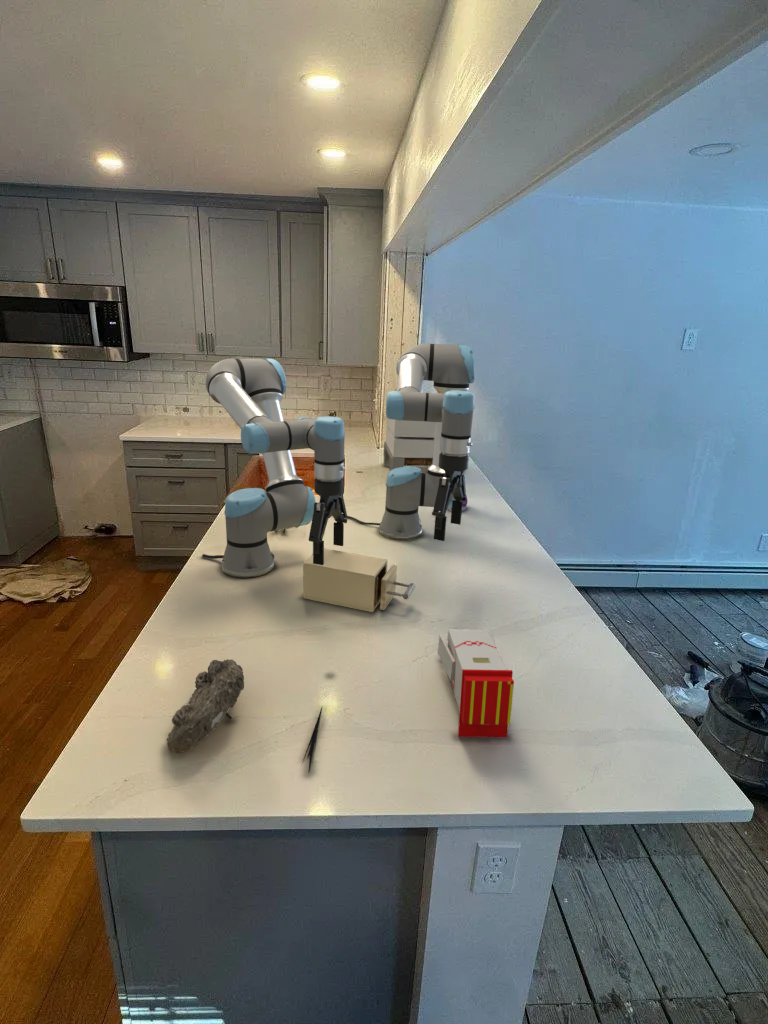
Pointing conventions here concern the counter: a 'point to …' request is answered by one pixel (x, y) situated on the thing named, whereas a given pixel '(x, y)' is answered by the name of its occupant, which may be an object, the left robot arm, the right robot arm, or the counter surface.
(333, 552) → the cabinet
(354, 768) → the counter surface
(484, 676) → the toy
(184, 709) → the fossil
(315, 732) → the feather
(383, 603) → the drawer
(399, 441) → the transformer
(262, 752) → the counter surface
